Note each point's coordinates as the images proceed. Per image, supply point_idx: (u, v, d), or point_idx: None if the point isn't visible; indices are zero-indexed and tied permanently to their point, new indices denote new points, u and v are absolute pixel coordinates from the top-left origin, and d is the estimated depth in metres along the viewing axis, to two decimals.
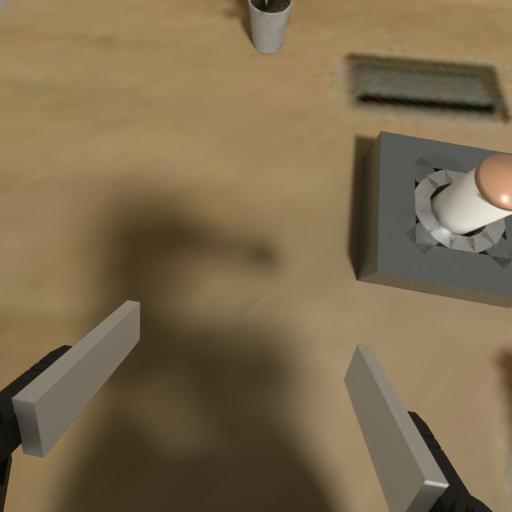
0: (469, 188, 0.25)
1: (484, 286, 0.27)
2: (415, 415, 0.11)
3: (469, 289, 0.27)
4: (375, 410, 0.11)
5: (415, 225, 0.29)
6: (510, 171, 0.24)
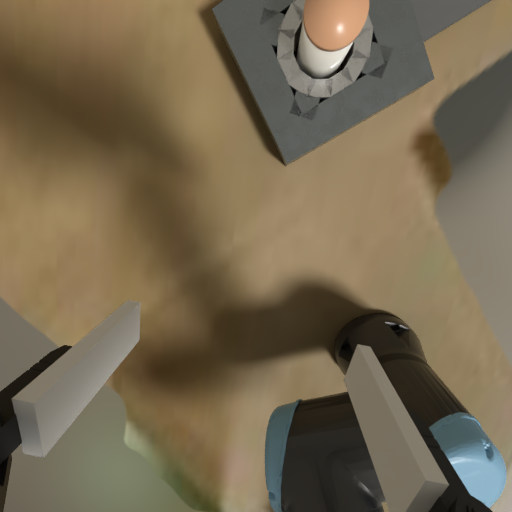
0: (308, 43, 0.25)
1: (370, 110, 0.30)
2: (415, 415, 0.11)
3: (359, 121, 0.31)
4: (375, 410, 0.11)
5: (295, 97, 0.31)
6: None
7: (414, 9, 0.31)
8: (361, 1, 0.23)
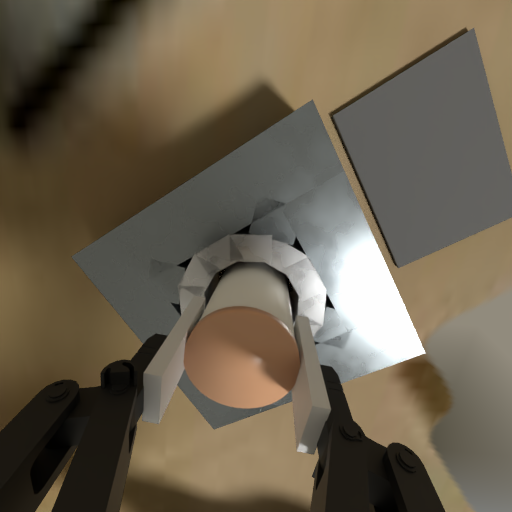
0: None
1: None
2: (330, 368, 0.12)
3: None
4: None
5: None
6: (231, 347, 0.12)
7: (394, 224, 0.20)
8: (285, 358, 0.12)
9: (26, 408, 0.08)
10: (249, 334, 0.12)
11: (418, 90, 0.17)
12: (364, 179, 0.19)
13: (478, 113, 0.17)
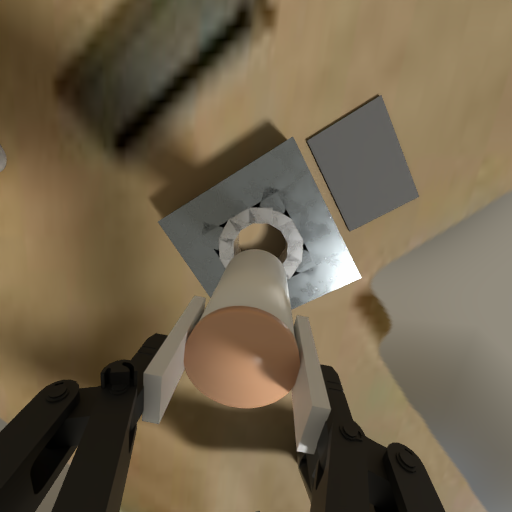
0: None
1: (306, 298, 0.34)
2: (330, 368, 0.12)
3: None
4: None
5: None
6: (231, 347, 0.12)
7: (346, 204, 0.34)
8: (285, 358, 0.12)
9: (26, 408, 0.08)
10: (249, 334, 0.12)
11: (354, 127, 0.30)
12: (326, 177, 0.33)
13: (388, 139, 0.31)
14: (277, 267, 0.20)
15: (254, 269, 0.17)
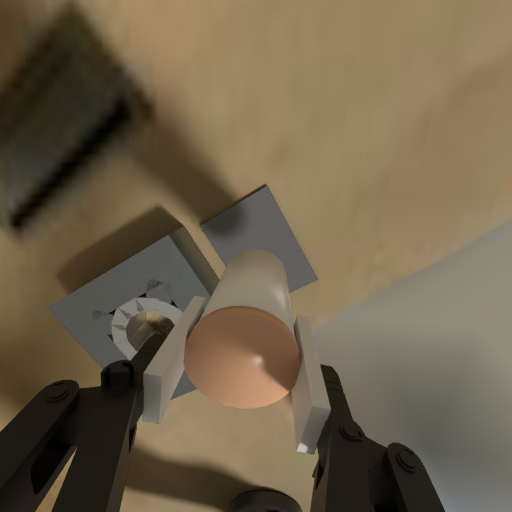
0: None
1: None
2: (330, 368, 0.12)
3: None
4: None
5: None
6: (231, 347, 0.12)
7: None
8: (285, 358, 0.12)
9: (26, 408, 0.08)
10: (249, 334, 0.12)
11: (244, 214, 0.30)
12: (223, 259, 0.32)
13: (279, 227, 0.30)
14: (277, 267, 0.20)
15: (254, 269, 0.17)
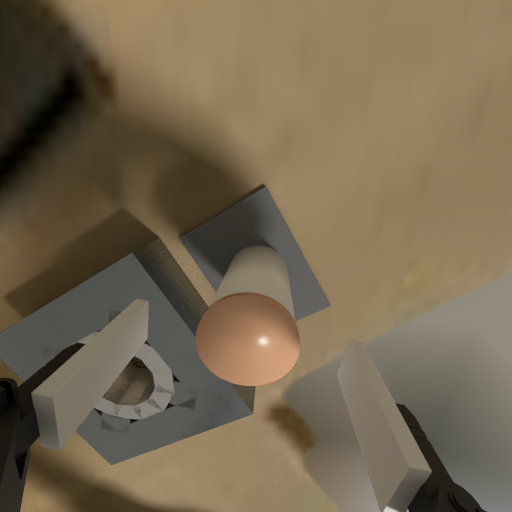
0: None
1: (188, 432, 0.26)
2: (404, 407, 0.11)
3: None
4: (365, 403, 0.11)
5: (102, 417, 0.26)
6: (238, 329, 0.14)
7: None
8: (286, 339, 0.14)
9: None
10: (254, 317, 0.13)
11: (236, 223, 0.23)
12: (210, 280, 0.25)
13: (282, 239, 0.23)
14: (279, 261, 0.21)
15: (258, 262, 0.19)
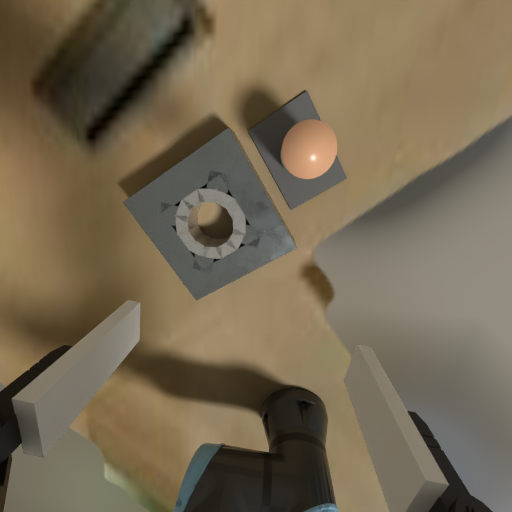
0: None
1: (252, 267, 0.39)
2: (415, 415, 0.11)
3: None
4: (375, 410, 0.11)
5: (194, 258, 0.40)
6: (305, 141, 0.27)
7: (285, 186, 0.39)
8: (330, 144, 0.27)
9: None
10: (314, 131, 0.26)
11: (286, 118, 0.36)
12: (267, 162, 0.38)
13: None
14: None
15: None
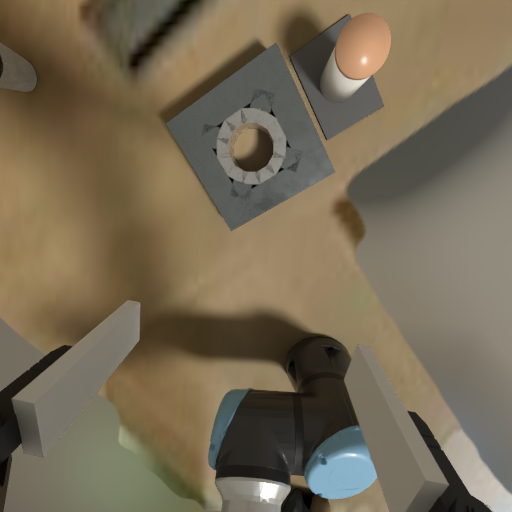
0: (338, 72, 0.30)
1: (290, 193, 0.40)
2: (415, 415, 0.11)
3: None
4: (375, 410, 0.11)
5: (233, 184, 0.40)
6: (359, 36, 0.28)
7: (323, 114, 0.40)
8: (384, 40, 0.28)
9: None
10: (369, 25, 0.27)
11: (328, 43, 0.37)
12: (306, 89, 0.39)
13: None
14: None
15: None
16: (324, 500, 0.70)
